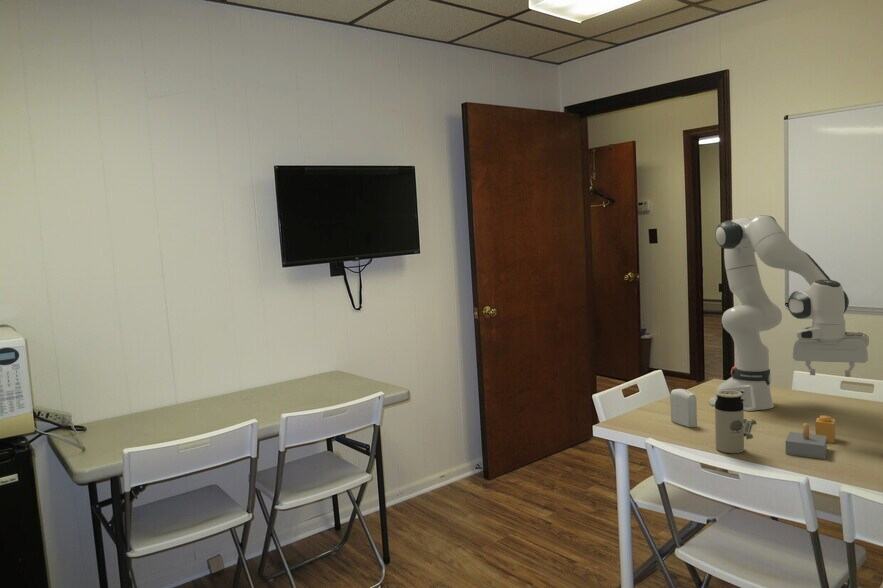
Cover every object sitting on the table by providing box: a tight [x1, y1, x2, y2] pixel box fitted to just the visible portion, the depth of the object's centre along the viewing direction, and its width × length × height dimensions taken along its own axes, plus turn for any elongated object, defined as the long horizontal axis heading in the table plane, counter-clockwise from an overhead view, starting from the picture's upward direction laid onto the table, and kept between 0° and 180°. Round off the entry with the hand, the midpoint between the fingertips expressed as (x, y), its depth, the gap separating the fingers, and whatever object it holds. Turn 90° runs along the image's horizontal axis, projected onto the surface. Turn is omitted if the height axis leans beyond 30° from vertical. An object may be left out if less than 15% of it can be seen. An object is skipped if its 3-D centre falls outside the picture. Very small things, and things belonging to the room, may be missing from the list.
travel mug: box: [714, 390, 745, 454], centre depth 197 cm, size 8×8×18 cm
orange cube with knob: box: [815, 414, 836, 444], centre depth 202 cm, size 5×5×7 cm
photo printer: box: [669, 388, 698, 428], centre depth 225 cm, size 10×4×12 cm, turn 20°
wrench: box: [744, 418, 757, 440], centre depth 216 cm, size 5×2×20 cm
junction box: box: [785, 422, 828, 460], centre depth 193 cm, size 10×10×8 cm
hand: (830, 375), depth 200 cm, fingers open, 8 cm apart
